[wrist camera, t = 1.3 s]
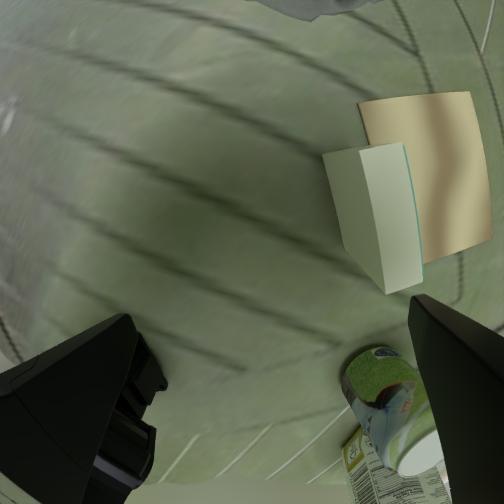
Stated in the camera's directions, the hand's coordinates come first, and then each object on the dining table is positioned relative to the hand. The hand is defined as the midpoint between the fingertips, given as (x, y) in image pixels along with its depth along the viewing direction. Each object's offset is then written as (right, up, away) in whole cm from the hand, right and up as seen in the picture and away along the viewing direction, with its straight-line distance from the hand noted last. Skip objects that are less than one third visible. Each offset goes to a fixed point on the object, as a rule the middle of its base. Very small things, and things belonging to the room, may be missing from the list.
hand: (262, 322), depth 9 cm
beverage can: (+11, -8, +16) cm, 21 cm away
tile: (+7, +6, +12) cm, 14 cm away
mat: (+14, +8, +11) cm, 19 cm away
